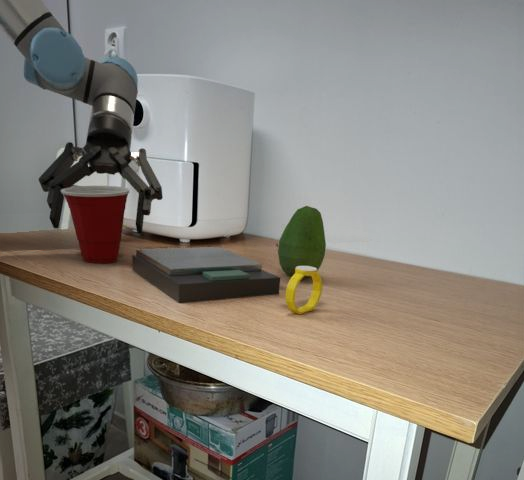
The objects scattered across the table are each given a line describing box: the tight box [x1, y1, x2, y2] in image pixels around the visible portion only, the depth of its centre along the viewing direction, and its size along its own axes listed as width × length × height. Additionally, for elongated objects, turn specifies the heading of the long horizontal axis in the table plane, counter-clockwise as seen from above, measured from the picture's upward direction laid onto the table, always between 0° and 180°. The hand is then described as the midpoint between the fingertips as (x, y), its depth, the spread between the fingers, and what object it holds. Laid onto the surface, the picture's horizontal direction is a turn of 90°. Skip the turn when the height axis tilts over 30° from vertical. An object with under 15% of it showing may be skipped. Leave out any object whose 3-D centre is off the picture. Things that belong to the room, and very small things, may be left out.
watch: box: [284, 266, 323, 315], centre depth 64 cm, size 6×3×6 cm, turn 136°
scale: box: [131, 246, 281, 304], centre depth 75 cm, size 19×16×4 cm
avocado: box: [277, 205, 327, 281], centre depth 81 cm, size 8×8×12 cm
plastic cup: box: [61, 185, 131, 264], centre depth 81 cm, size 11×11×12 cm
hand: (96, 226), depth 80 cm, fingers open, 13 cm apart
